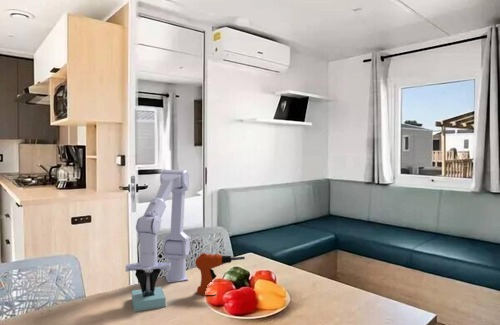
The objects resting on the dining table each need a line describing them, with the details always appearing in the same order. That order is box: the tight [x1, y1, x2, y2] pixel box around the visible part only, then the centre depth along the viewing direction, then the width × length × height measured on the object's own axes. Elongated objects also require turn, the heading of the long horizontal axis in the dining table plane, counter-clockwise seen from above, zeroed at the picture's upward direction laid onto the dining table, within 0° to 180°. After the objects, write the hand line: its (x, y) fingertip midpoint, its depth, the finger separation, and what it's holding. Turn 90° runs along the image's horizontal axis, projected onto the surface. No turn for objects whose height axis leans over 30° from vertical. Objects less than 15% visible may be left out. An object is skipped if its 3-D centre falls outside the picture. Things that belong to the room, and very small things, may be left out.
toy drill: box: [195, 252, 246, 296], centre depth 128 cm, size 5×19×15 cm, turn 85°
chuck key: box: [145, 270, 153, 297], centre depth 120 cm, size 3×3×10 cm
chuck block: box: [131, 286, 167, 312], centre depth 120 cm, size 10×10×3 cm
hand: (148, 291), depth 120 cm, fingers closed on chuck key, 3 cm apart
